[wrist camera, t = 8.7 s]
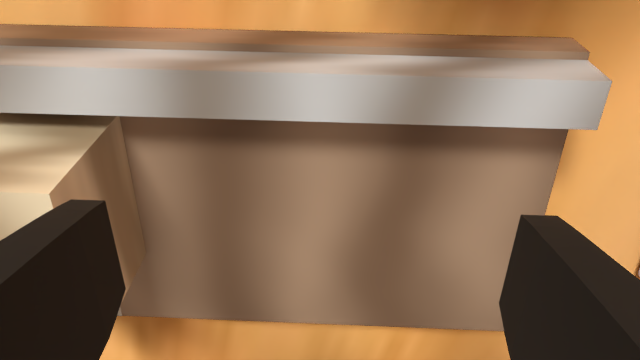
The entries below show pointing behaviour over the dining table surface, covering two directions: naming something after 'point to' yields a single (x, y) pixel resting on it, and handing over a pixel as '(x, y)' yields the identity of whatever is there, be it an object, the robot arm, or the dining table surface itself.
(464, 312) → the marking board
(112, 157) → the block
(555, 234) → the robot arm
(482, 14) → the dining table surface
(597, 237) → the dining table surface
